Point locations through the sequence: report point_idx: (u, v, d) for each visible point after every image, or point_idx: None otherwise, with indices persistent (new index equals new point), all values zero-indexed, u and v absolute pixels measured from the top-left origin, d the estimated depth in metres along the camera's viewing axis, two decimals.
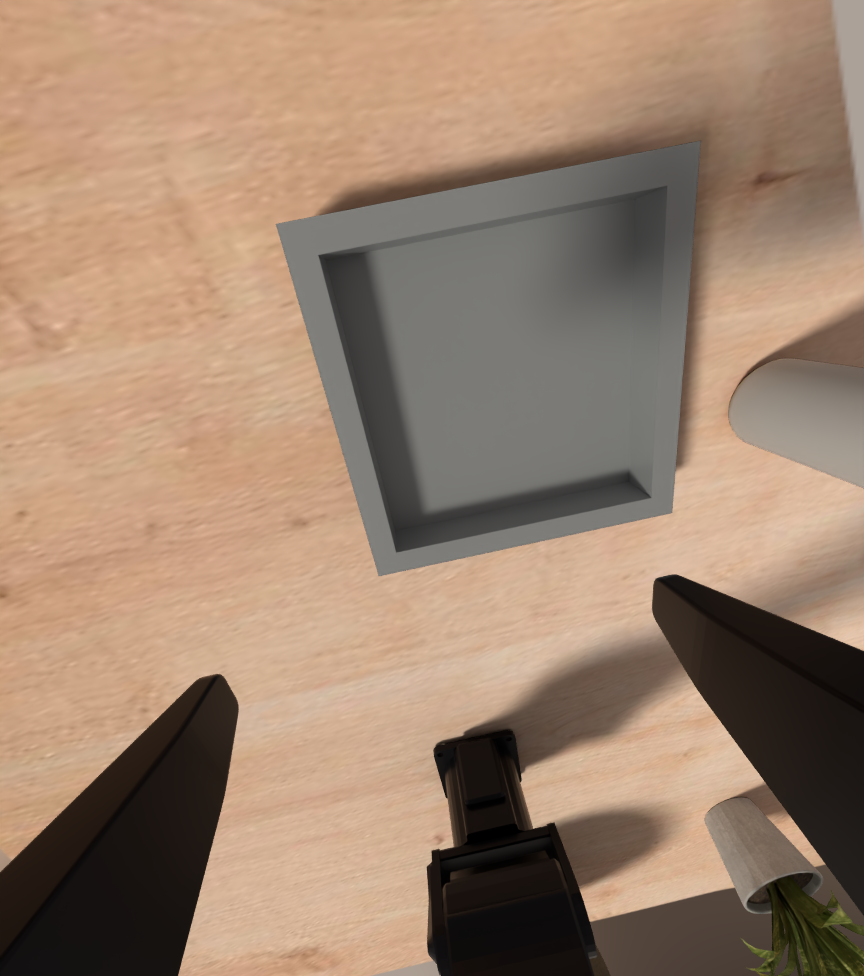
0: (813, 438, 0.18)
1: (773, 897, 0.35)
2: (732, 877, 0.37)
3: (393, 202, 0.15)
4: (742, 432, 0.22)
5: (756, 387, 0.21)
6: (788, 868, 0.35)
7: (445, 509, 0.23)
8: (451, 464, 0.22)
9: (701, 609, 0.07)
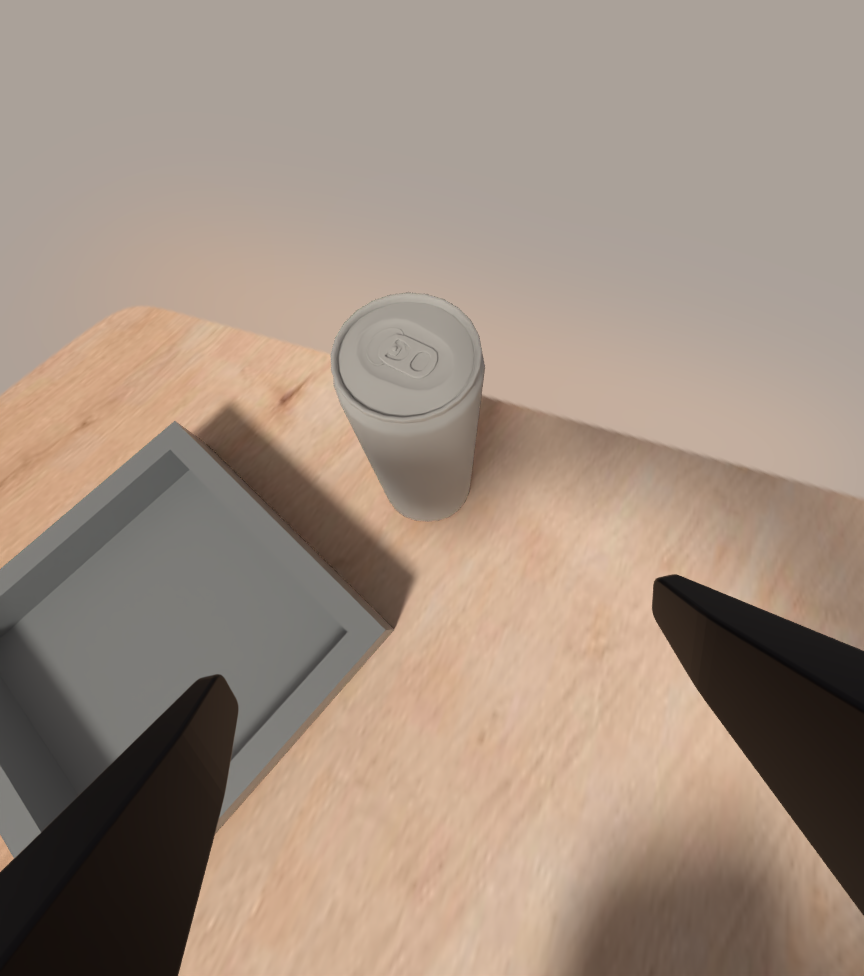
0: (384, 482, 0.18)
1: None
2: None
3: None
4: (414, 516, 0.22)
5: None
6: None
7: None
8: None
9: (701, 609, 0.07)
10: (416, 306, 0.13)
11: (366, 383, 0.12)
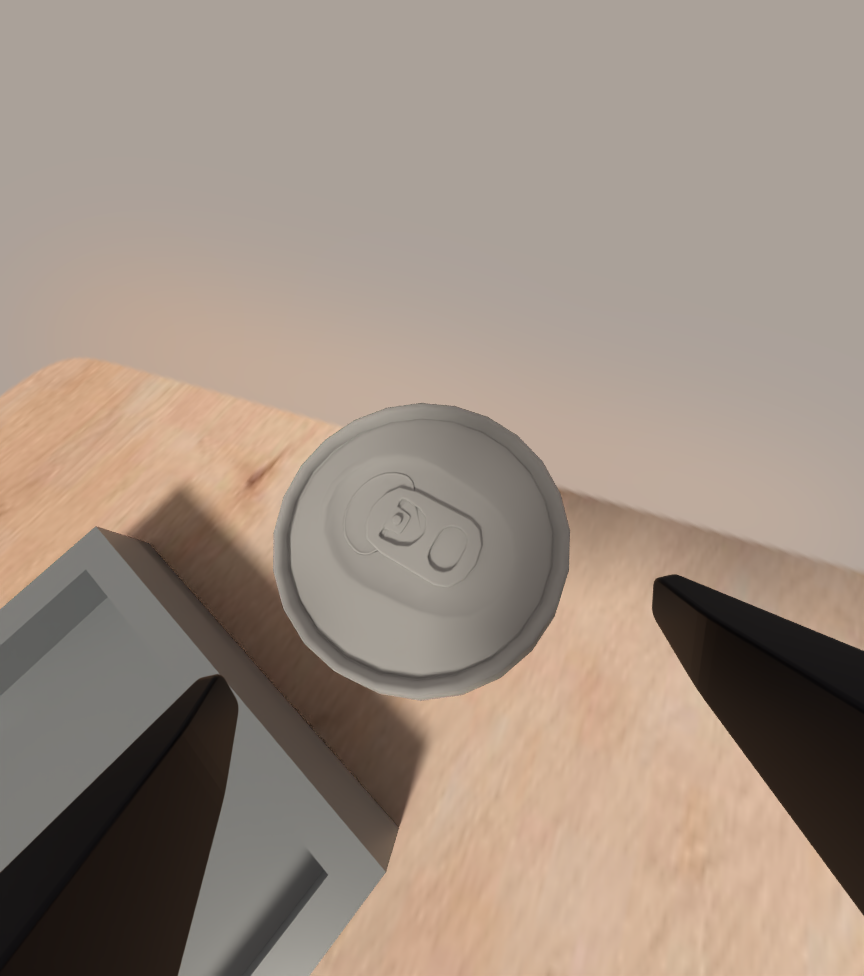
0: None
1: None
2: None
3: None
4: None
5: None
6: None
7: None
8: None
9: (701, 609, 0.07)
10: (436, 428, 0.07)
11: (341, 598, 0.06)
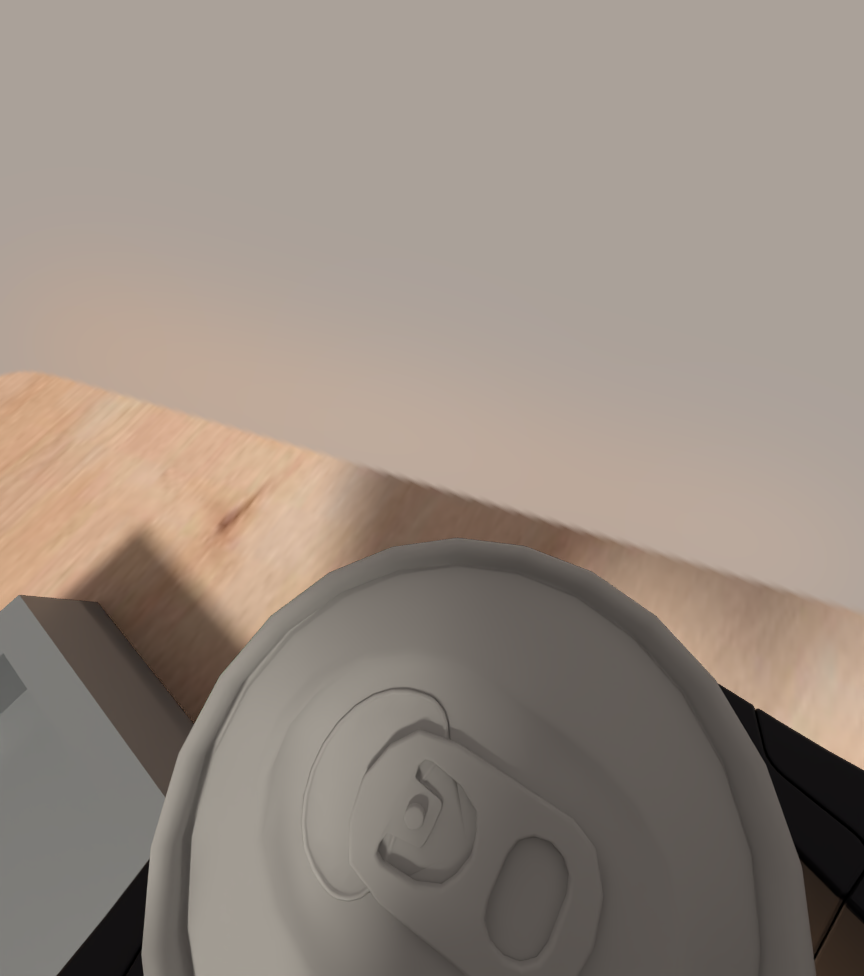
0: None
1: None
2: None
3: None
4: None
5: None
6: None
7: None
8: None
9: None
10: (487, 589, 0.04)
11: None
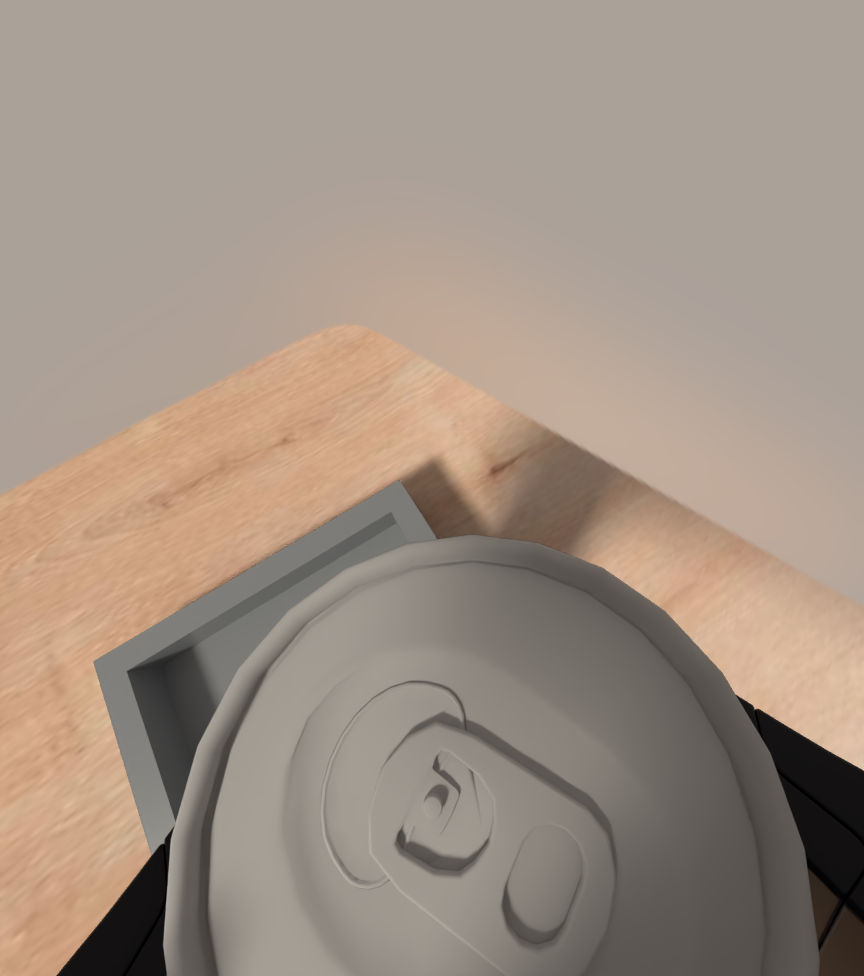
0: None
1: None
2: None
3: (183, 609, 0.19)
4: None
5: None
6: None
7: None
8: None
9: None
10: (500, 584, 0.04)
11: None
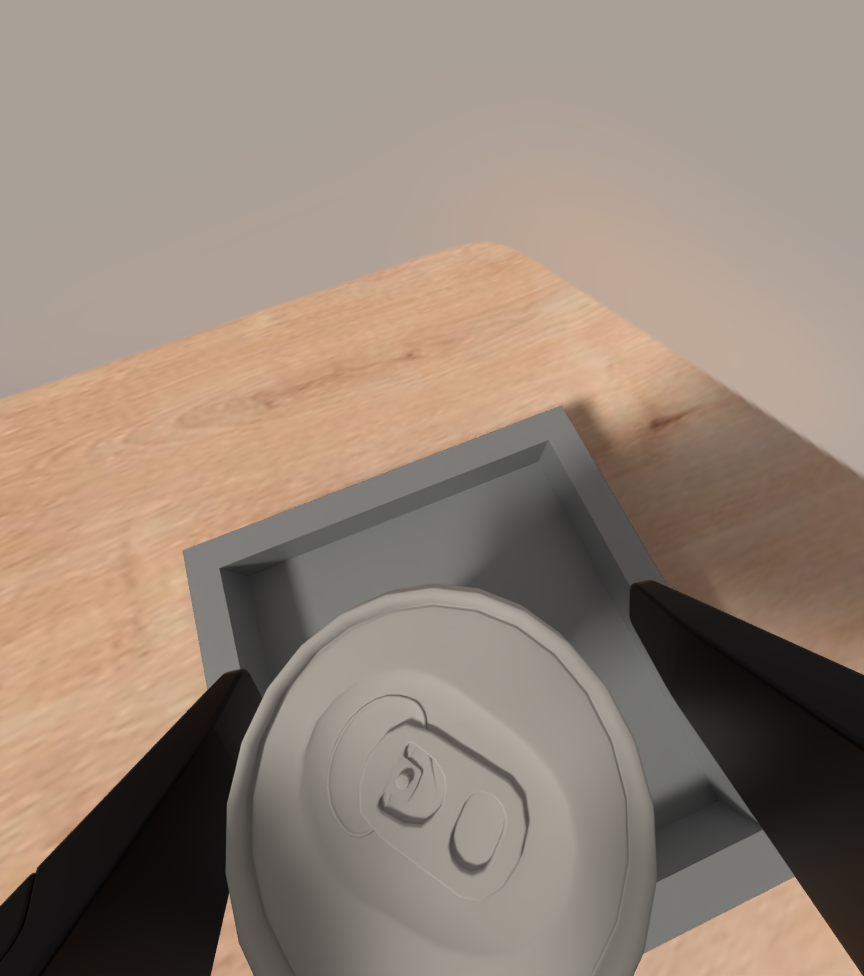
0: None
1: None
2: None
3: (292, 510, 0.16)
4: None
5: None
6: None
7: None
8: None
9: (673, 615, 0.07)
10: (453, 623, 0.05)
11: (325, 917, 0.04)
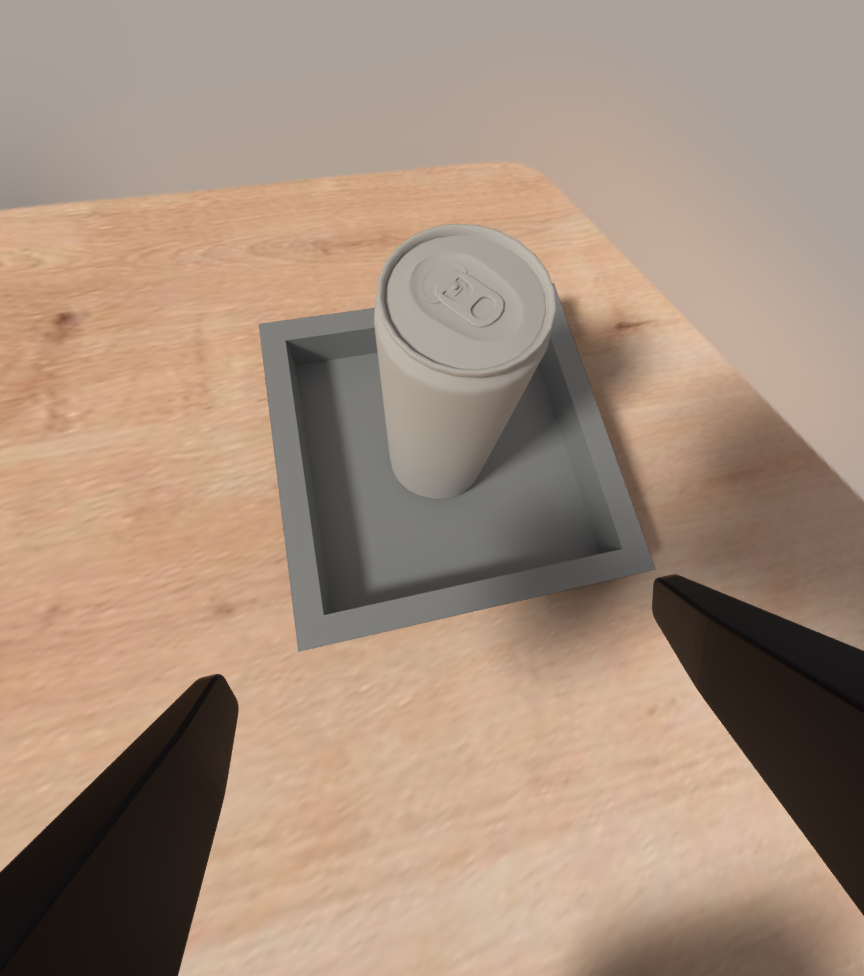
0: (398, 447, 0.16)
1: None
2: None
3: (344, 313, 0.21)
4: (418, 490, 0.20)
5: None
6: None
7: (393, 585, 0.20)
8: (398, 530, 0.21)
9: (701, 609, 0.07)
10: (484, 243, 0.11)
11: (416, 321, 0.10)
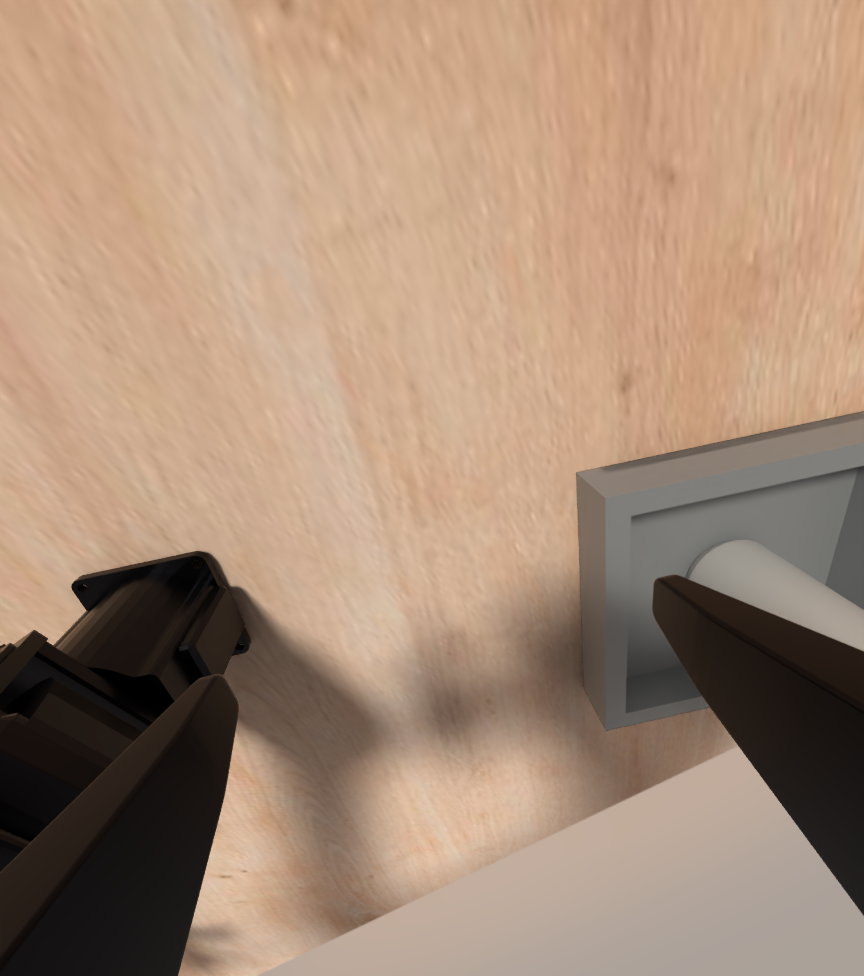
0: (794, 611, 0.18)
1: None
2: None
3: None
4: (706, 571, 0.22)
5: (755, 549, 0.21)
6: None
7: None
8: (665, 544, 0.22)
9: (701, 609, 0.07)
10: None
11: None
